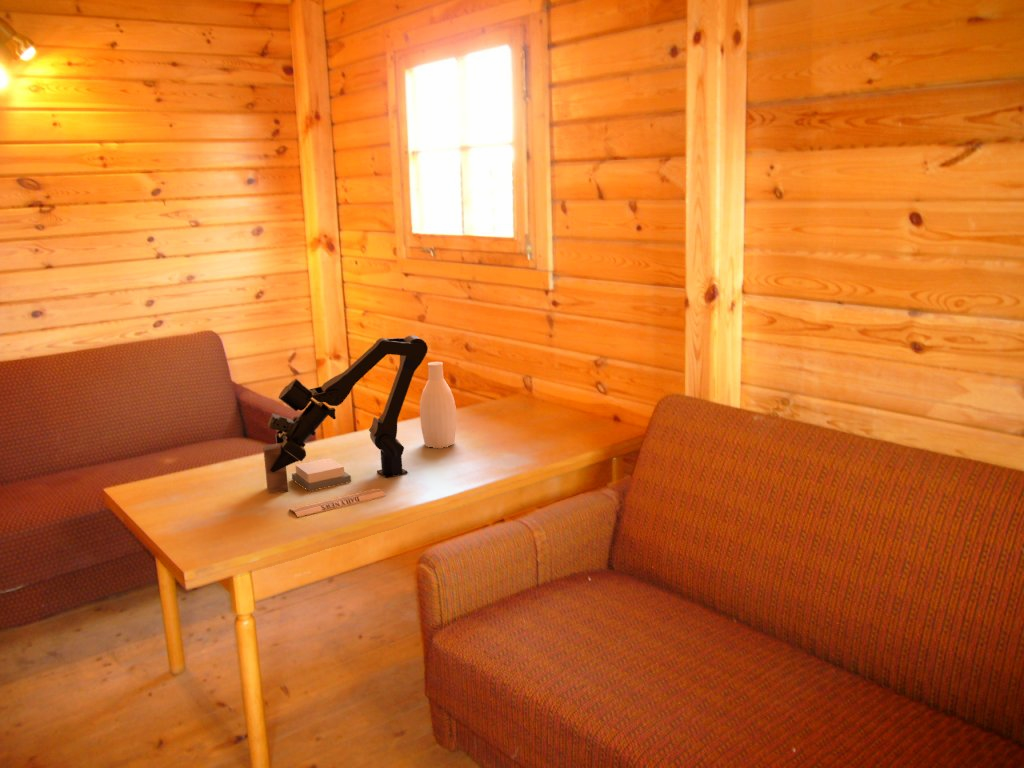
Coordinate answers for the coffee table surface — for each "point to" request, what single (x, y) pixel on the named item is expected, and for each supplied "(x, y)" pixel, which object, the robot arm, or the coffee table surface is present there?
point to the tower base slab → (321, 483)
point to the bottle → (437, 410)
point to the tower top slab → (319, 470)
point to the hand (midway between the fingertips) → (270, 466)
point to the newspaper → (338, 502)
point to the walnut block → (279, 477)
